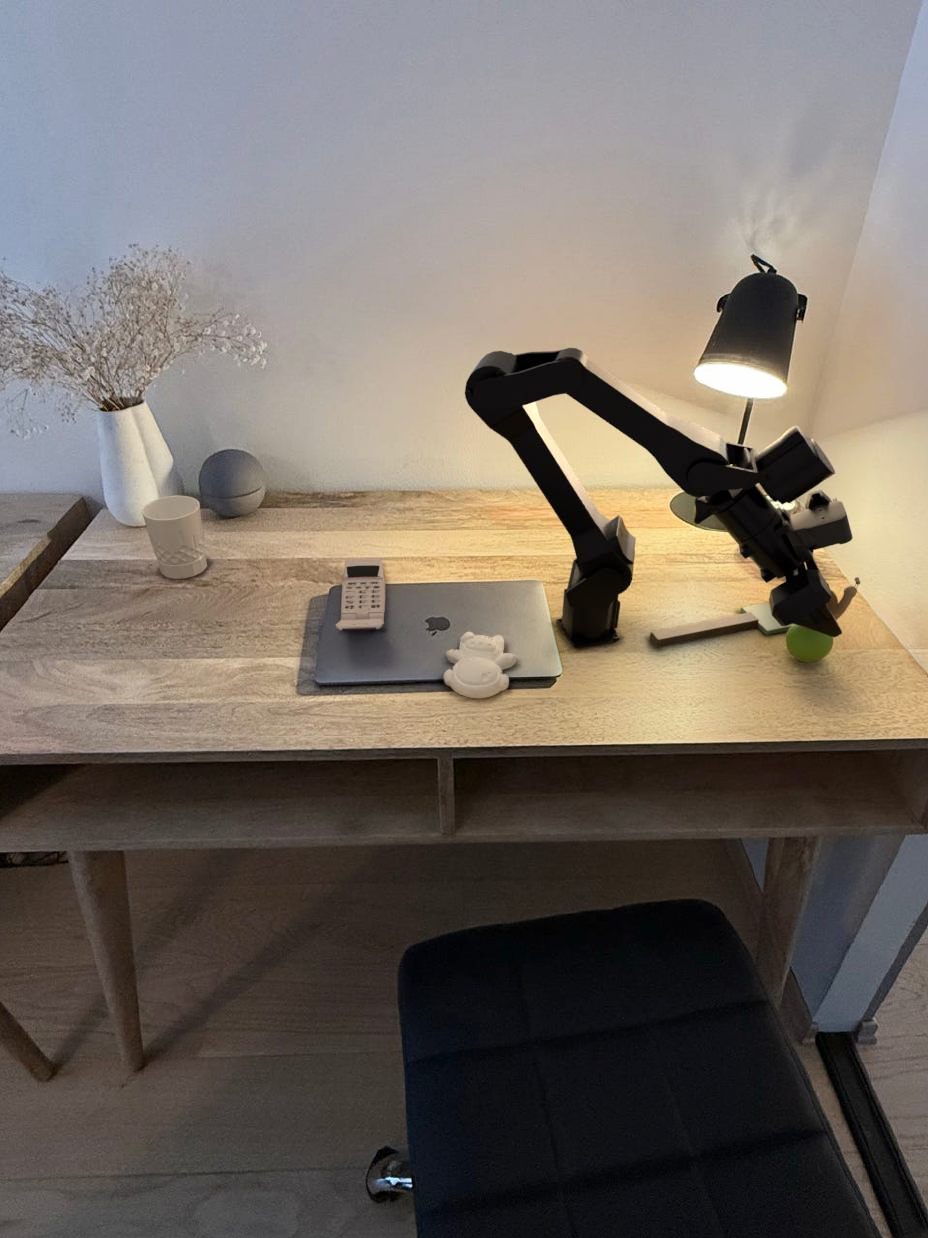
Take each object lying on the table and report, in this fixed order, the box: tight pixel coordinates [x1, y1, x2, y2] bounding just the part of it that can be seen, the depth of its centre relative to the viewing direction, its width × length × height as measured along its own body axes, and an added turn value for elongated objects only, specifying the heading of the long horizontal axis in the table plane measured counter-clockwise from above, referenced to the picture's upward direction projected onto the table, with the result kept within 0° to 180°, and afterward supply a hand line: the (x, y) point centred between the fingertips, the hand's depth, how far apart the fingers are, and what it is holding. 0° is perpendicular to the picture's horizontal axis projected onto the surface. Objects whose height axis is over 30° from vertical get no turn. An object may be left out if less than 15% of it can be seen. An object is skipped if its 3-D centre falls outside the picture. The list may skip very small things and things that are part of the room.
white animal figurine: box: [443, 631, 518, 699], centre depth 101 cm, size 9×12×3 cm
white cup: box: [141, 495, 208, 580], centre depth 120 cm, size 8×8×10 cm
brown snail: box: [785, 576, 861, 663], centre depth 101 cm, size 5×6×12 cm
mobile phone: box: [335, 557, 386, 631], centre depth 111 cm, size 6×6×25 cm
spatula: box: [649, 601, 793, 648], centre depth 109 cm, size 22×6×1 cm, turn 108°
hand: (832, 613), depth 100 cm, fingers open, 9 cm apart
